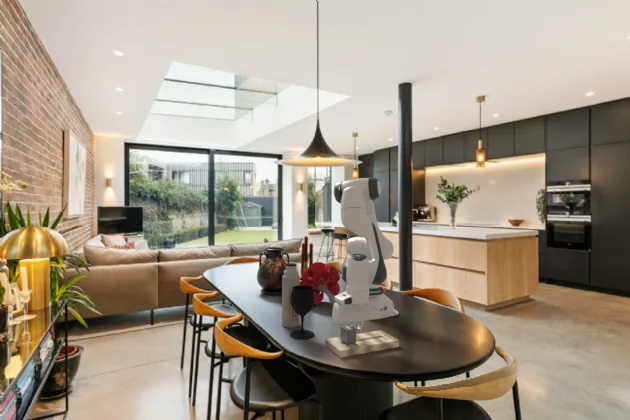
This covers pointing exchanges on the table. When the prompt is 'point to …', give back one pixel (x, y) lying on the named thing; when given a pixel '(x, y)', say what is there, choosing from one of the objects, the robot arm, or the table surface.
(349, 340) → the fader
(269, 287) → the amphora vase
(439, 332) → the table surface
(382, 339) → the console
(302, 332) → the wine glass
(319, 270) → the bouquet
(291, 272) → the thermos bottle
